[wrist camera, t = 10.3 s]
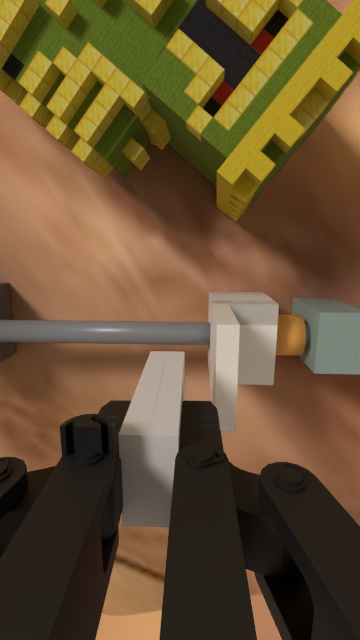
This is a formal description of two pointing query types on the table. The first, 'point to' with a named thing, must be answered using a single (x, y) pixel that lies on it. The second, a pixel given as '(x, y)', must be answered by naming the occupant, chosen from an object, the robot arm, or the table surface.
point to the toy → (181, 80)
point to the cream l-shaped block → (240, 347)
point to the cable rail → (207, 333)
